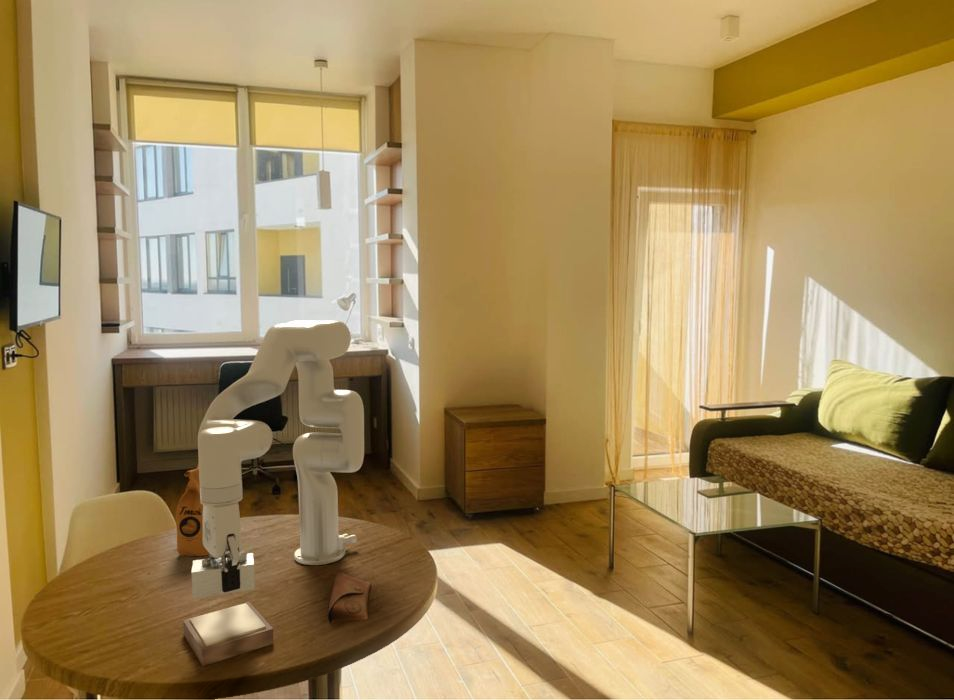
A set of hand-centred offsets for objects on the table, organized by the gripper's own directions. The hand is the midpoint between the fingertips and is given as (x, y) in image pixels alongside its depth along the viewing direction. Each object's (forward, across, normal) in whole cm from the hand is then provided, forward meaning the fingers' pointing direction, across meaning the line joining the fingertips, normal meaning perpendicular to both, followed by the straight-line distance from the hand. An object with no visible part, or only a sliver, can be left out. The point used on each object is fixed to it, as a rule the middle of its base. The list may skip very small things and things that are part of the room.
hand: (225, 582), depth 132 cm
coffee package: (+12, -52, +8) cm, 54 cm away
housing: (+1, 0, 0) cm, 1 cm away
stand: (+12, 0, 0) cm, 12 cm away
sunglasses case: (+12, -1, +26) cm, 29 cm away
